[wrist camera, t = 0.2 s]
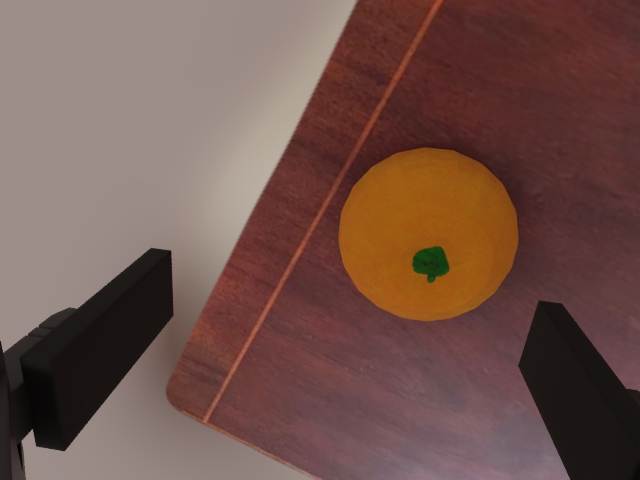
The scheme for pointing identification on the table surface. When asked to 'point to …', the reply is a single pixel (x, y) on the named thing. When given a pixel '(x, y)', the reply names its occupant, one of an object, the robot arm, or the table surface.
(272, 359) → the table surface
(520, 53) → the table surface
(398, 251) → the fruit
